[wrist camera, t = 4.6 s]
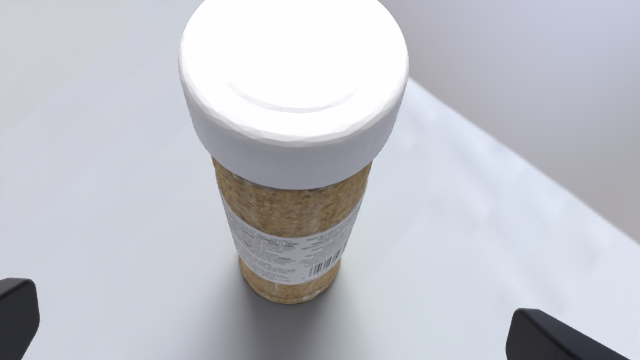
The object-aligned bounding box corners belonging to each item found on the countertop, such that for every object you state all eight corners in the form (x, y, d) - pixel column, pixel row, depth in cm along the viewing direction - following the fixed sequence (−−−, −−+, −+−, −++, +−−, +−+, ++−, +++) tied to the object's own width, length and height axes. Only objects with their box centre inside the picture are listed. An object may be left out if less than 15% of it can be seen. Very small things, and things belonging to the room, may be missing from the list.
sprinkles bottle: (305, 192, 22) (329, -67, 10) (360, 271, 21) (464, 74, 9) (219, 241, 21) (132, 8, 9) (271, 329, 19) (250, 190, 7)
